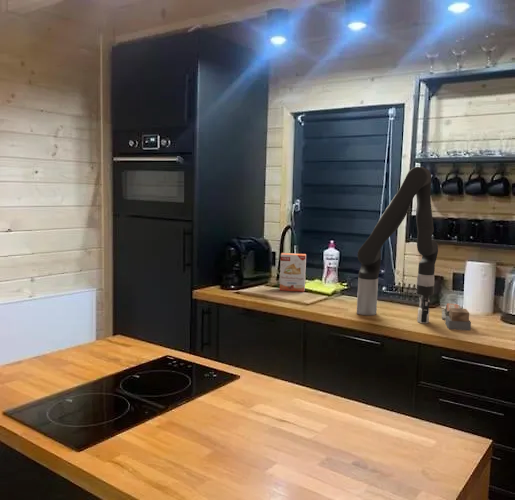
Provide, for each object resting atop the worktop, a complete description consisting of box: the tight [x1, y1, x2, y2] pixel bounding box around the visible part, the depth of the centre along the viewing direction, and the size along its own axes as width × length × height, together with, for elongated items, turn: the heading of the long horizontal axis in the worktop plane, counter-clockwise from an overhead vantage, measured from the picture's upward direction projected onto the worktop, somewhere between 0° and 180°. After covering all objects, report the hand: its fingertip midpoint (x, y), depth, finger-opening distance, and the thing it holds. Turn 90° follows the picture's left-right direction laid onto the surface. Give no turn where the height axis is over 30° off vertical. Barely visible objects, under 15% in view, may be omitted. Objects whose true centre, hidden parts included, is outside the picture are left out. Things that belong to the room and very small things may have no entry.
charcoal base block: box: [444, 316, 472, 331], centre depth 245 cm, size 9×9×4 cm
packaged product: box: [441, 302, 462, 321], centre depth 264 cm, size 18×5×10 cm
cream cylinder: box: [416, 307, 431, 324], centre depth 251 cm, size 5×5×6 cm
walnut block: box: [449, 308, 470, 322], centre depth 244 cm, size 7×7×4 cm
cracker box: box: [279, 252, 307, 293], centre depth 311 cm, size 14×6×21 cm, turn 81°
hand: (423, 320), depth 252 cm, fingers closed on cream cylinder, 5 cm apart
